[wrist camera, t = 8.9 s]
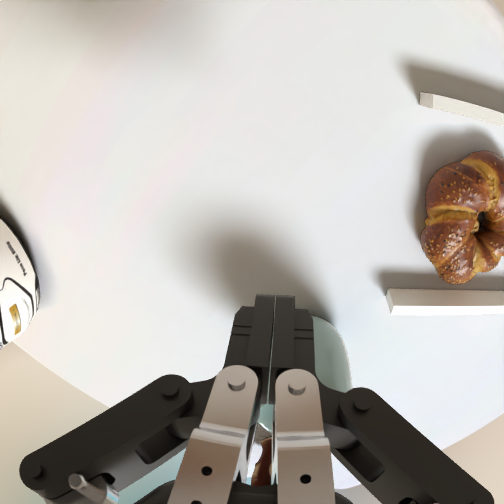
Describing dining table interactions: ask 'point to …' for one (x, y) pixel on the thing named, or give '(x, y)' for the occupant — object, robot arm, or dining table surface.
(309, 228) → the dining table surface
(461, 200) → the pretzel
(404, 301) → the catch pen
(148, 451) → the robot arm
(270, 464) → the coffee cup
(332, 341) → the cup
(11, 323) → the milk container
